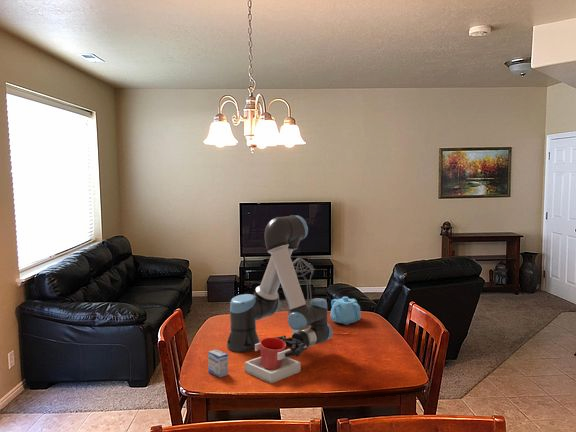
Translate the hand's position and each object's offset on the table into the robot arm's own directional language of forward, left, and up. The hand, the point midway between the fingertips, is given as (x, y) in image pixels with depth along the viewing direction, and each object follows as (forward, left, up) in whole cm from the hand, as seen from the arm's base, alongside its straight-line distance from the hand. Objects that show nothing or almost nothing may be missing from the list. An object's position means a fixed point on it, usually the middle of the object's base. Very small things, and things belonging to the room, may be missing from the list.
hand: (266, 352), depth 196 cm
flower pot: (0, +5, -7) cm, 9 cm away
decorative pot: (+12, +78, -9) cm, 79 cm away
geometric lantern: (-11, +70, -9) cm, 71 cm away
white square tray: (+1, +3, -9) cm, 10 cm away
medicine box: (-19, -6, -9) cm, 22 cm away
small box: (-3, +50, -9) cm, 51 cm away
